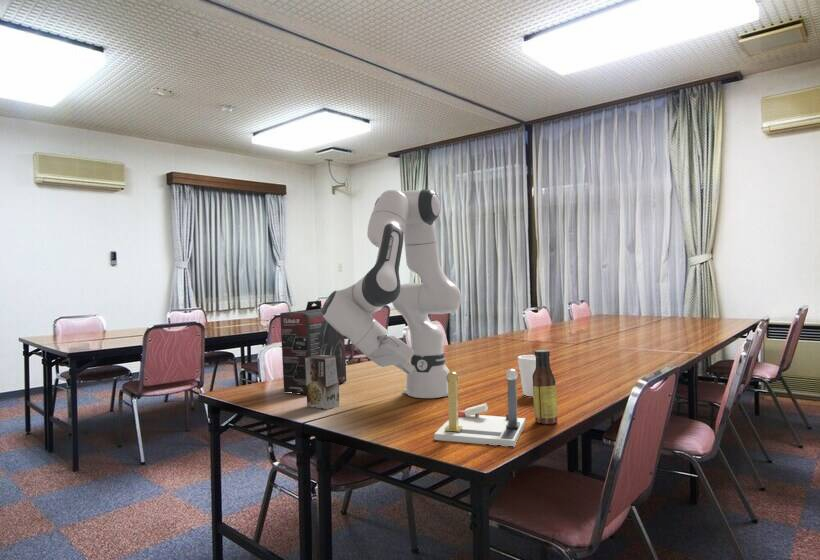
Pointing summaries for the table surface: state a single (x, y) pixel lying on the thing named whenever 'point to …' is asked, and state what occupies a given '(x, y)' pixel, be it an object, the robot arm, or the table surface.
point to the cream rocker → (476, 409)
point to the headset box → (308, 345)
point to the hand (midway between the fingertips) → (410, 371)
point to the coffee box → (322, 381)
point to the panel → (482, 430)
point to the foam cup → (527, 372)
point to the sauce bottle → (544, 390)
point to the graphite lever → (512, 398)
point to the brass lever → (453, 402)
